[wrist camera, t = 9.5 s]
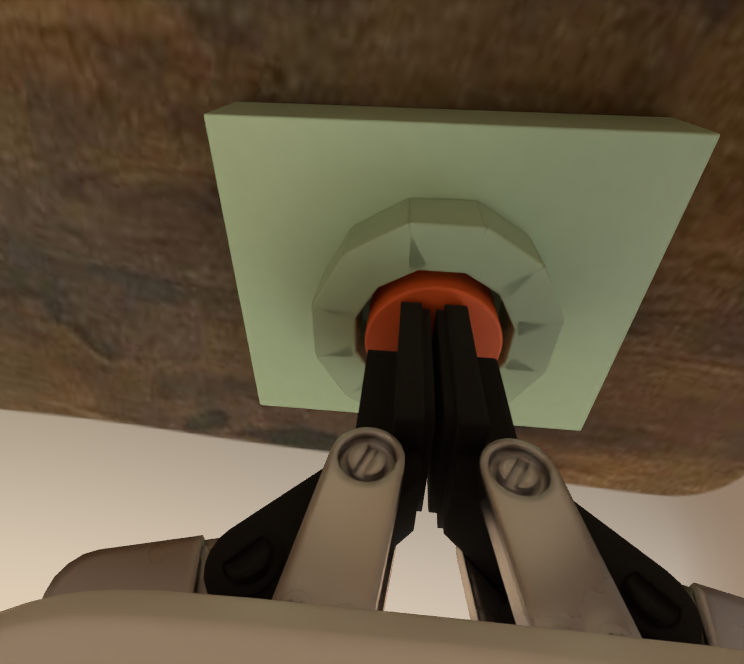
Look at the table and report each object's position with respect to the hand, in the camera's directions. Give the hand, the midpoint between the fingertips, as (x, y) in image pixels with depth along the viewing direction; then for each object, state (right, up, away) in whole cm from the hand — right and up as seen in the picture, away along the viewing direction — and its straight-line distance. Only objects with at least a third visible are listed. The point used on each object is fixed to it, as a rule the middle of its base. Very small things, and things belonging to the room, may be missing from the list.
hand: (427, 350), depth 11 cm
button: (0, +1, +1) cm, 2 cm away
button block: (+1, +3, +3) cm, 4 cm away
